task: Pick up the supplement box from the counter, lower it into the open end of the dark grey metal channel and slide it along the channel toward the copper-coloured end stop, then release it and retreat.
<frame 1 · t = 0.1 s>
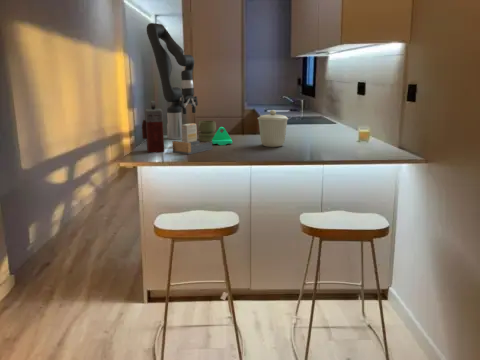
hand: (189, 113, 291), 17 cm above the countertop, tool pointing down, fingers open, 8 cm apart
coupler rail: (193, 150, 258), on the countertop
piston: (207, 140, 296), on the countertop
supplement box: (189, 146, 274), on the countertop
canister: (272, 146, 272), on the countertop
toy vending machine: (153, 151, 258), on the countertop
camera mount: (222, 144, 280), on the countertop
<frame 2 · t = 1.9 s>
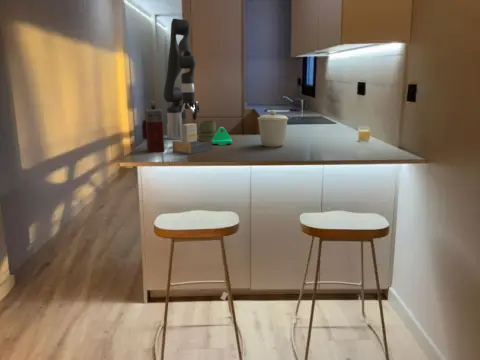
hand: (189, 119, 271), 16 cm above the countertop, tool pointing down, fingers open, 8 cm apart
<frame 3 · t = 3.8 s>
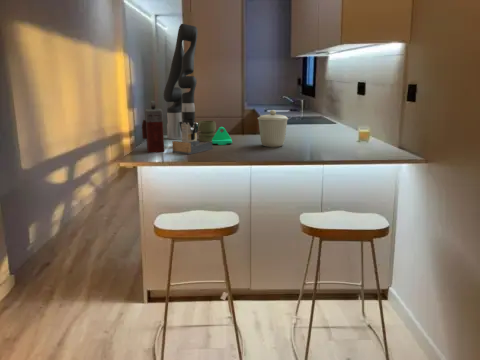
hand: (189, 139, 273), 4 cm above the countertop, tool pointing down, fingers closed on supplement box, 5 cm apart
supplement box: (189, 146, 274), on the countertop, touching gripper
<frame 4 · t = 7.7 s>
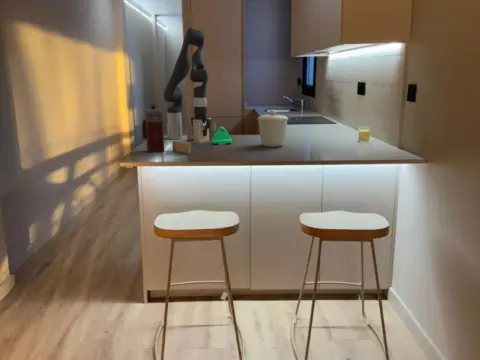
hand: (201, 135, 262), 8 cm above the countertop, tool pointing down, fingers closed on supplement box, 5 cm apart
supplement box: (201, 142, 263), point 4 cm above the countertop, touching gripper
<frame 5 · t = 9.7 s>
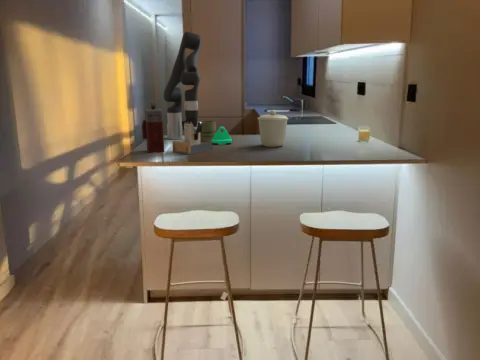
hand: (192, 139, 256), 6 cm above the countertop, tool pointing down, fingers closed on supplement box, 5 cm apart
supplement box: (192, 146, 257), point 2 cm above the countertop, touching gripper
when the fingers open (6 cm above the countertop, at t = 11.5 s): supplement box drops 1 cm, resting on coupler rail.
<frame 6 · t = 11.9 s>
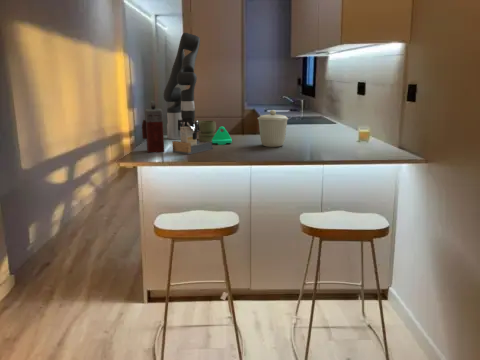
hand: (189, 138, 254), 7 cm above the countertop, tool pointing down, fingers open, 8 cm apart
supplement box: (189, 149, 256), point 1 cm above the countertop, touching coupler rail
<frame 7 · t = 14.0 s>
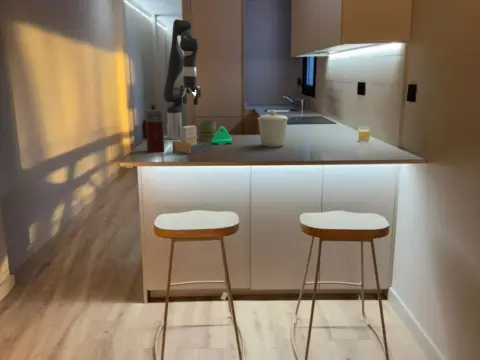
hand: (190, 104, 261), 25 cm above the countertop, tool pointing down, fingers open, 8 cm apart
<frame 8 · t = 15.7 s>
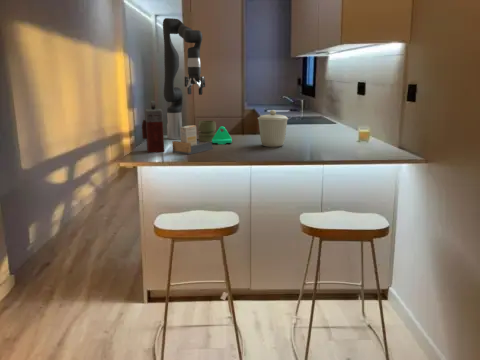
hand: (195, 94, 269), 30 cm above the countertop, tool pointing down, fingers open, 8 cm apart
at the end: supplement box 0.3 cm from the target spot on the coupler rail, point 0.8 cm above the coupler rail's base; supplement box tilted 0°; the gripper is holding nothing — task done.
